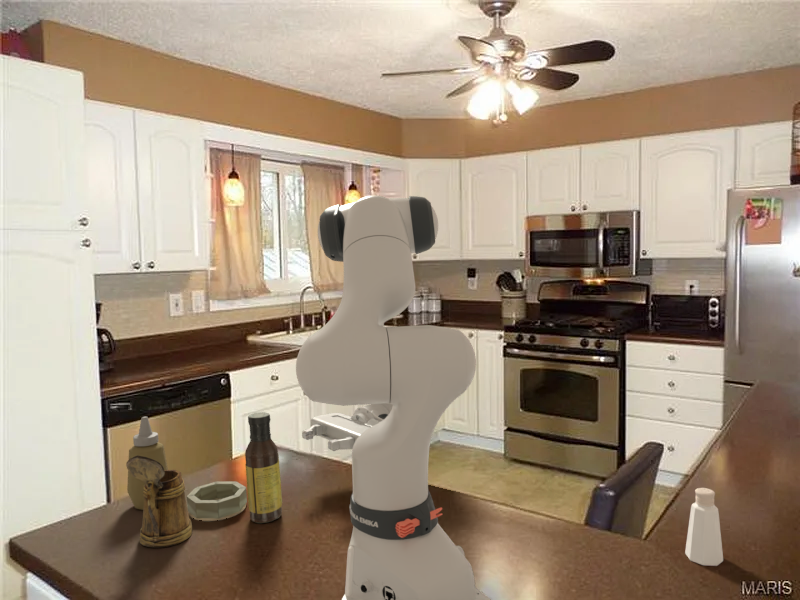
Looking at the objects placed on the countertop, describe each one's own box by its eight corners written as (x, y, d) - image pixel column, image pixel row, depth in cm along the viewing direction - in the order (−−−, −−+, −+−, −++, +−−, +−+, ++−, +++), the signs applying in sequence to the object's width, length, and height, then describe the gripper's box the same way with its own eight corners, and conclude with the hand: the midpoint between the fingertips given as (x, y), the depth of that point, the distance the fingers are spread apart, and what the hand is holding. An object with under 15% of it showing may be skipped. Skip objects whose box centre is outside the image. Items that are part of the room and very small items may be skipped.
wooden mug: (116, 562, 98) (109, 456, 97) (153, 525, 112) (147, 431, 110) (170, 562, 98) (163, 455, 96) (200, 524, 111) (195, 430, 110)
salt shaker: (703, 569, 91) (704, 499, 91) (677, 552, 97) (678, 486, 96) (731, 563, 93) (732, 494, 92) (704, 546, 98) (705, 481, 97)
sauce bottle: (289, 512, 115) (284, 411, 114) (269, 526, 110) (264, 420, 108) (261, 508, 118) (256, 409, 116) (241, 521, 112) (236, 417, 110)
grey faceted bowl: (255, 508, 117) (255, 491, 117) (202, 526, 110) (201, 508, 110) (231, 493, 125) (230, 477, 125) (180, 508, 118) (179, 491, 118)
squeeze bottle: (178, 496, 125) (173, 411, 123) (159, 513, 117) (153, 423, 115) (141, 495, 125) (136, 411, 124) (120, 512, 117) (113, 423, 116)
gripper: (341, 402, 137) (289, 415, 128) (400, 421, 122) (345, 436, 113) (342, 429, 138) (290, 443, 129) (401, 451, 123) (346, 469, 114)
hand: (316, 440), depth 121 cm, fingers open, 8 cm apart
